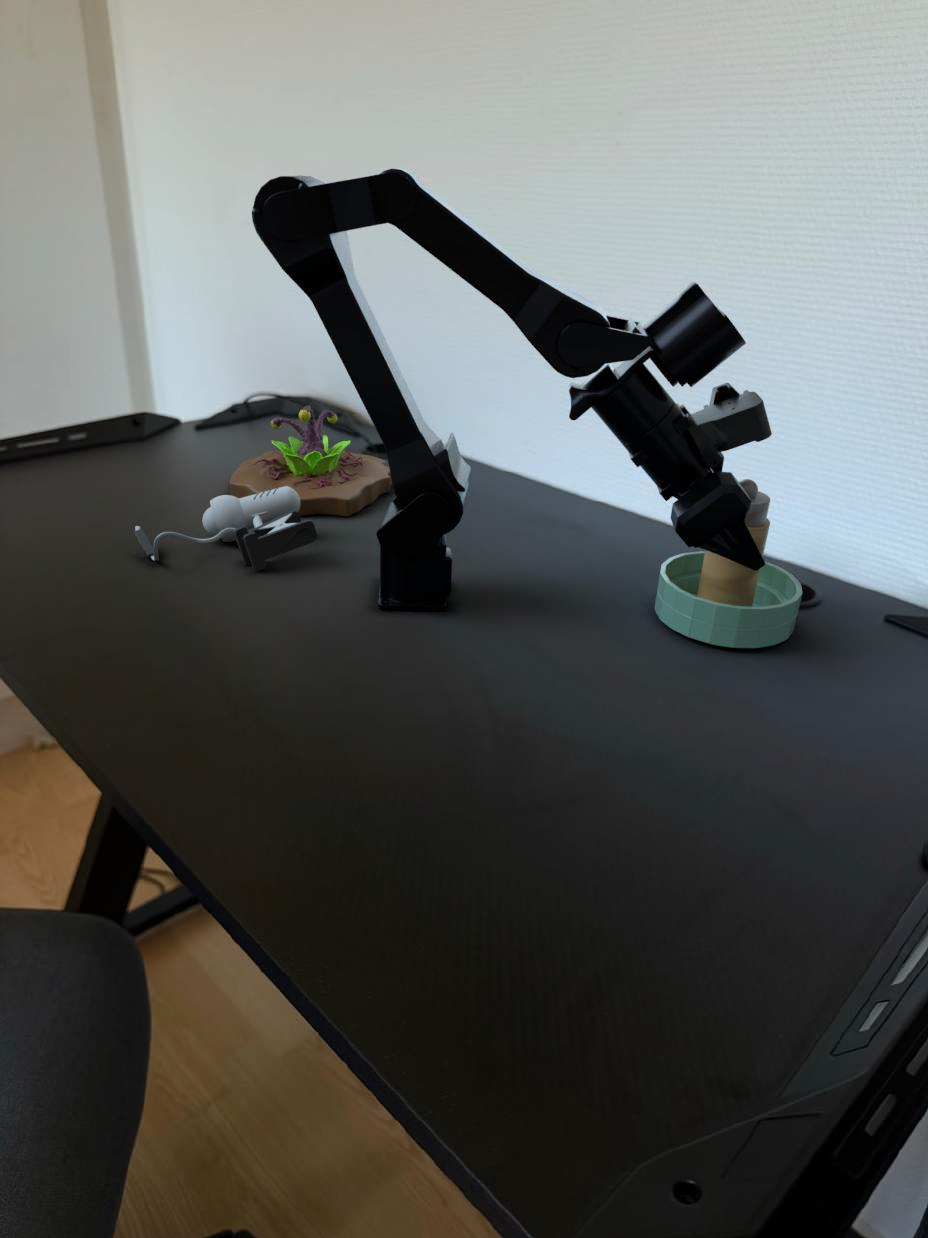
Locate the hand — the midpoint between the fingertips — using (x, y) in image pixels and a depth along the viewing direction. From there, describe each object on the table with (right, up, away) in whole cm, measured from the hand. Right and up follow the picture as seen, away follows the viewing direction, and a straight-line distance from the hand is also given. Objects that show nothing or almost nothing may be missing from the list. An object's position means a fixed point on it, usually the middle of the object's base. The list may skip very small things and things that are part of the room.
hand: (750, 547), depth 83 cm
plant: (-46, +10, +32) cm, 57 cm away
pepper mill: (-2, -6, +3) cm, 7 cm away
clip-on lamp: (-52, 0, +13) cm, 54 cm away
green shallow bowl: (-2, -7, +4) cm, 8 cm away
